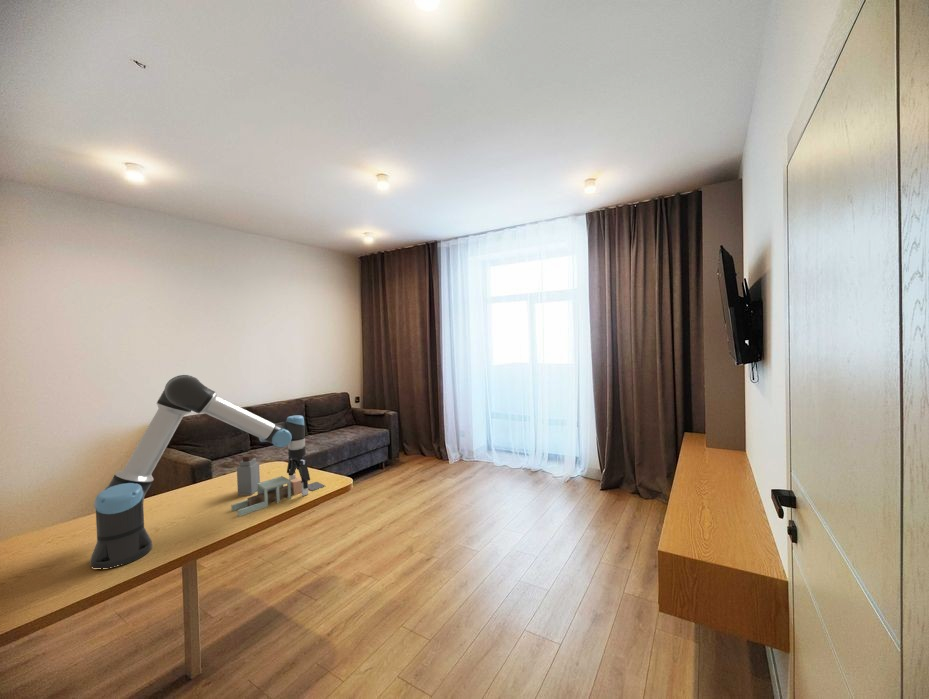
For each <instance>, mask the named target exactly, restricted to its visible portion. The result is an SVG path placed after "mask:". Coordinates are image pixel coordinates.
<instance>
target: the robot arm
mask: <svg viewBox="0 0 929 699" xmlns="http://www.w3.org/2000/svg"><path fill="white" fill-rule="evenodd" d="M156 406H157V407H158V409H157V411H156V412H155V414H154V416H153V417H152V419H151V421H150V422H149V424H148V426H147V428H146V430H145V431H144V433H143V435H142V436H141V439H140V440H139V441H138V443H137V445H136V447H135V448H134V451H133V452H132V453H131V456H130V457H129V459H128V461H127V462H126V464H125V466H124V468H123V469H120V470H118V471H116V472H115V473H114V475H113V476H112V478H111V480H110V482H109V483H108V485H107V486H106V487H105V488H104V489H103V490H102V491H100V492H99V493H98V494H97V495H96V496H95V501H94V505H93V506H94V509H95V525H96V543H95V546H94V549H93V553H92V554H91V557H90V560H89V561H90V568H91V567H93V568H101V569H103V568H110V567H114V566H117V565H121V564H125V565H127V564H126V563H128V564H130V563H133V562H135V561H136V560H139V559H141V558H143V557H144V556H146V555H147V554H149V552H150V551H151V550H152V548H153V544H152V538H151V537H150V535H149V533H148V531H147V530H146V528H145V514H144V511H145V510H144V503H145V502H144V501H145V496H146V494H147V492H148V491H149V489H150V487H151V485H152V484H153V481H154V480H155V478H154V477H153V475H152V474H153V472H154V471H155V468H156V467H157V465H158V463H159V461H160V460H161V458H162V456H163V454H164V452H165V450H166V449H167V447H168V445H169V444H170V441H171V439H172V438H173V436H174V434H175V432H176V430H177V429H178V427H179V425H180V423H181V421H182V419H183V418H184V416H186V415H187V414H190V413H191V412H194V413H196V414H198V415H200V414H206V415H208V416H210V417H213V418H215V419H217V420H219V421H221V422H223V423H226V424H228V425H230V426H233V427H235V428H237V429H239V430H241V431H243V432H246V433H248V434H250V435H252V436H254V437H257V438H258V440H259V442H261V443H266V442H267V443H270V444H272V445H273V446H275V447H276V448H285V447H287V448H288V462H287V469H286V474H288V476H289V477H288V479H289V480H293V479H296V470H298V473H299V476H300V479H302V481H301V486H302V493H301V496H302V497H305V496H307V495H309V489H308V484H309V481H311V477H310V473H309V472H310V471H309V468H308V462H307V459H304V458H303V457H304V456H305V455H306V437H305V436H306V435H305V433H306V431H305V419H304V418H305V417H304V416H303V415H300V414H299V415H297V414H295V415H290V416H287V418H286V421H282V422H277V423H273V422H272V421H270V420H267V419H266V418H263V417H262V416H259V415H257V414H255V413H254V412H251V411H249V410H247V409H245V408H243V407H241V406H238V405H237V404H235V403H232V402H231V401H228V400H226V399H225V398H222V397H221V396H218V395H217V391H215V390H212V389H211V388H209V387H207V386H206V385H204V384H203V383H202V382H201V381H200V380H199V379H198V378H197V377H194V376H192V375H188V374H180V375H175V376H174V377H172V378H170V379H169V380H168V381H167V383H165V386H164V390H163V391H162V393H161V395H160V396H159V397H158V400H157V401H156ZM132 561H133V562H132ZM129 562H130V563H129Z"/></svg>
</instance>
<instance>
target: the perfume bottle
mask: <svg viewBox="0 0 929 699" xmlns="http://www.w3.org/2000/svg"><path fill="white" fill-rule="evenodd" d="M236 478H237V481H236V482H237V496H252V495H254V494H256V493H258V492H257V483H260V482H261V480H260V479H261V476H260V461H259V462H257V458H254V454H245V455H243V456H242V460H241V461H238V466H237V467H236Z"/></svg>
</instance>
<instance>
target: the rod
mask: <svg viewBox="0 0 929 699" xmlns="http://www.w3.org/2000/svg"><path fill="white" fill-rule="evenodd" d="M267 494H268V504H269V503H272V502H275V501H276V489H274V490H271V491H268V492H267ZM279 495H280V500H282V499H284V498H288V489H287V485H283V487H281V488H279ZM292 495H293V487H292V486H291V496H292ZM293 496H294V495H293ZM247 500H248V506H251V505H254V504H257V503H260V502H263V501H264V493H262V494H259V495H258V494H256V495H253V496H252V495H251V496H249V497H247ZM248 506H247V507H248Z"/></svg>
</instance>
